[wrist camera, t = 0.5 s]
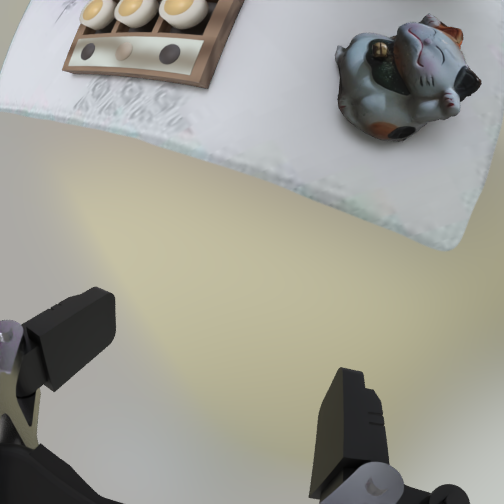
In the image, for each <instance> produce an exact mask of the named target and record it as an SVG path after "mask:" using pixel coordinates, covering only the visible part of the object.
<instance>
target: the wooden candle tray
mask: <svg viewBox="0 0 504 504" xmlns="http://www.w3.org/2000/svg"><path fill="white" fill-rule="evenodd" d="M113 1H114V2H116V3H117V4H118V3H119V2H120V0H113ZM157 1H158V4H159V7H160V4H161V2H162V0H157ZM206 1H207V3H208V6H209V10H208V13H207V15H206V17H205V18H204V19H203V20H202V21H201V22H200V23H199V24H197V25H196V26H194V27H191V28H188V29H177V28H174V27H173V26H172V25H171V24H169V23H168V22H167V21H166V20H164V19H163V18H162V17H161V16H160V14H159V8H158V11H157V13H156V15H155V16H154V18H153V19H152V20H151V21H150V22H148V23H147V24H146V25H144V26H142V27H139V28H130V27H128V26H127V25H125V24H123V23H122V22H120V21H118V20H117V19H116V18H114V19H113V21H112V22H111V23H110V24H109V25H107V26H106V27H105V28H103V29H101V30H94V29H92V28H89V27H87V26H85V25H83V24H80V26H79V29H78V31H77V33H76V35H75V38H74V40H73V43H72V45H71V47H70V50H69V52H68V55H67V58H66V60H65V63H64V66H63V69H62V71H66V72H70V73H75V74H100V75H115V76H126V77H136V78H145V79H153V80H160V81H167V82H174V83H180V84H186V85H191V86H197V87H202V88H207V89H208V87H209V84H210V82H211V79H212V76H213V74H214V71H215V69H216V66H217V63H218V61H219V58H220V56H221V53H222V51H223V48H224V46H225V43H226V41H227V39H228V36H229V34H230V32H231V29H232V27H233V25H234V22H235V20H236V18H237V16H238V13H239V11H240V9H241V7H242V5H243V2H244V0H206Z"/></svg>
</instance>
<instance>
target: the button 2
mask: <svg viewBox="0 0 504 504" xmlns="http://www.w3.org/2000/svg"><path fill="white" fill-rule="evenodd" d="M208 10H209V6H208V3H207V1H206V0H162V2H161V4H160V7H159V14H160V16H161V17H162V18H163V19H164V20H166V21H167V22H168V23H169V24H171V25H172V26H173V27H174V28H177V29H188V28H191V27H194V26H196V25H197V24H199V23H200V22H201V21H202V20H203V19H204V18H205V17H206V15H207V13H208Z"/></svg>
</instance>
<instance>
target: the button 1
mask: <svg viewBox="0 0 504 504" xmlns="http://www.w3.org/2000/svg"><path fill="white" fill-rule="evenodd" d="M116 6H117V3H116V2H114V1H113V0H91V1H89V2H88V3H87V5H86V6H85V7H84V9H83V10H82V12H81V15H80V23H81V24H83V25H85V26H87V27H89V28H92V29H94V30H101V29H103V28H105V27H106V26H107V25H109V24H110V23H111V22H112V21H113V19H114V18H115V15H114V12H115V8H116Z"/></svg>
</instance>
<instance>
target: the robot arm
mask: <svg viewBox="0 0 504 504" xmlns="http://www.w3.org/2000/svg"><path fill="white" fill-rule="evenodd" d="M115 333H116V317H115V297H114V295H113V294H112V293H110V292H108V291H105V290H103V289H101V288H98V287H93V288H91V289H89V290H87V291H86V292H84V293H82V294H80V295H76V296H72V297H68V298H67V299H65V300H63V301H61V302H60V303H59V304H56V305H54V306H53V307H51V309H47V310H46V311H44V312H42V313H40V314H39V315H37V316H35V317H34V318H32V319H30V320H28V321H27V322H25V323H23V324H22V325H20V324H19V323H18V322H16V321H13V320H2V321H0V504H123V503H120V502H116V501H113V500H110V499H107V498H104V497H102V496H100V495H98V494H97V493H96V492H95V491H94V490H93V489H92V488H91V487H90V486H89V485H88V484H87V483H86V482H85V481H84V480H83V479H82V478H81V477H80V476H79V475H78V474H77V473H76V472H75V471H74V470H73V468H72V467H71V466H70V465H68V464H67V463H66V462H64V461H63V460H62V459H60V458H59V457H57V456H56V455H55V454H53V453H52V452H51V451H50V450H48V449H47V448H46V447H44V446H43V445H42V444H38V440H37V424H38V413H39V404H40V395H41V392H40V387H41V386H42V385H43V384H44V385H45V386H46V387H48V388H49V389H50V390H52V391H53V392H55V391H56V390H57V389H59V388H60V387H61V386H62V385H63V384H64V383H66V382H67V381H68V380H69V379H70V378H71V377H72V376H73V375H75V374H76V373H77V372H78V371H79V370H80V369H82V368H83V367H84V366H85V365H86V364H87V363H89V362H90V361H91V360H92V359H93V358H94V357H96V356H97V355H98V354H99V353H100V352H101V351H103V350H104V349H105V348H106V347H107V346H108V345H109V344H111V342H112V341H113V339H114V336H115ZM364 383H365V382H364V375H363V372H361V371H356V370H351V369H347V368H342V367H340V368H339V369H338V371H337V373H336V375H335V377H334V379H333V381H332V384H331V386H330V388H329V390H328V392H327V394H326V396H325V398H324V400H323V402H322V404H321V408H320V411H319V415H318V424H317V435H316V444H315V453H314V462H313V470H312V477H311V485H310V492H309V498H313V499H320V502H319V504H470V502H469V498H468V496H467V494H466V493H465V492H464V491H463V490H462V489H461V488H460V487H458V486H456V485H452V484H445V485H441V486H439V487H438V488H436V489H435V490H434V491H433V492H432V493H429V492H425V491H422V490H418V489H415V488H412V487H409V486H406V485H405V484H404V482H403V479H402V477H401V475H400V473H399V472H398V471H397V470H396V469H395V468H393V467H392V466H390V464H389V456H388V447H387V439H386V432H385V426H384V417H383V416H382V415H383V411H382V405H381V401H380V399H379V398H378V396H377V395H376V393H375V391H374V390H371V389H367V388H365V384H364Z"/></svg>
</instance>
